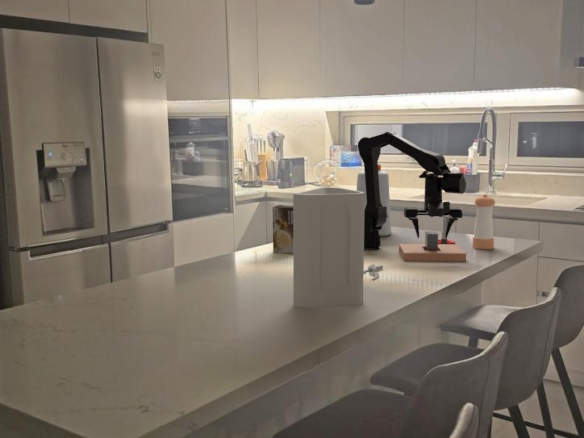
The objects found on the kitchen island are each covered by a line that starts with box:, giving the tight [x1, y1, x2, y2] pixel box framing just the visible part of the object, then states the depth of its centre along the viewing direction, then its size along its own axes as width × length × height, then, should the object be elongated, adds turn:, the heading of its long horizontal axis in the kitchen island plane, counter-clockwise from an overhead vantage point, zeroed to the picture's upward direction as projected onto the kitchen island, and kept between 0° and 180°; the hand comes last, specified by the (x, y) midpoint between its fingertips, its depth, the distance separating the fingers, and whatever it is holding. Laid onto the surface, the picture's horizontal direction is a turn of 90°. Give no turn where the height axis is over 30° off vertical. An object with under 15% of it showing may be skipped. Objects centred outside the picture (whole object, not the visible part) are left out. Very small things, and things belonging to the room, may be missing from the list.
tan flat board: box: [398, 243, 467, 262], centre depth 224 cm, size 20×16×2 cm
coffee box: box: [271, 204, 293, 254], centre depth 231 cm, size 9×6×16 cm
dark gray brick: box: [424, 230, 439, 251], centre depth 224 cm, size 4×5×8 cm
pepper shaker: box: [472, 194, 496, 250], centre depth 238 cm, size 7×7×19 cm
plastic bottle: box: [355, 163, 392, 237], centre depth 267 cm, size 15×15×28 cm
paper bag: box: [292, 186, 365, 309], centre depth 168 cm, size 19×15×28 cm
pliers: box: [364, 263, 384, 281], centre depth 199 cm, size 10×2×15 cm
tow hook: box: [438, 215, 456, 244], centre depth 246 cm, size 8×13×9 cm
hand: (432, 238), depth 224 cm, fingers open, 9 cm apart
